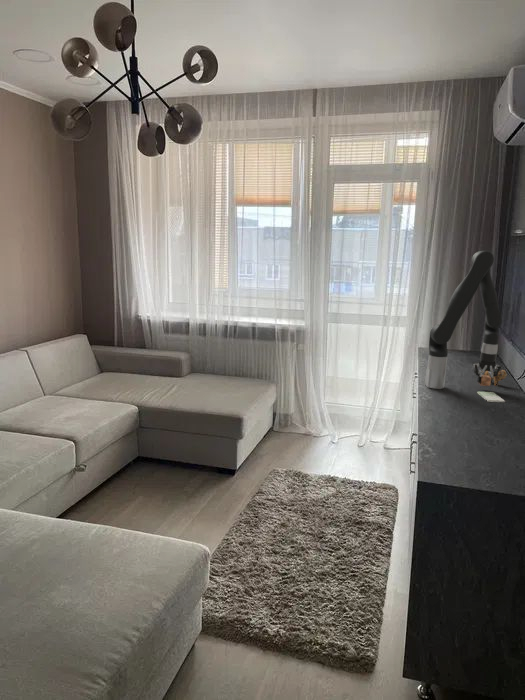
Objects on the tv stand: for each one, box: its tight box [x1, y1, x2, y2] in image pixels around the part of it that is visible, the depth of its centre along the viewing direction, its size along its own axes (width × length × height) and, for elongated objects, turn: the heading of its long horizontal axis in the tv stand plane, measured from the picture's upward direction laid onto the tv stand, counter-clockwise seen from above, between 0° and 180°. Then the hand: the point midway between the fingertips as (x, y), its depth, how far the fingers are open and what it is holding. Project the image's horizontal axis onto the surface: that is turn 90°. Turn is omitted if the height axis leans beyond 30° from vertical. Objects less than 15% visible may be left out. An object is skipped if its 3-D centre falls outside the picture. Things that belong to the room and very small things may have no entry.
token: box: [479, 374, 492, 387], centre depth 264 cm, size 4×4×4 cm
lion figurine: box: [483, 369, 508, 387], centre depth 277 cm, size 15×5×9 cm, turn 36°
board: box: [476, 391, 506, 403], centre depth 253 cm, size 8×14×1 cm, turn 178°
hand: (484, 383), depth 264 cm, fingers closed on token, 4 cm apart
